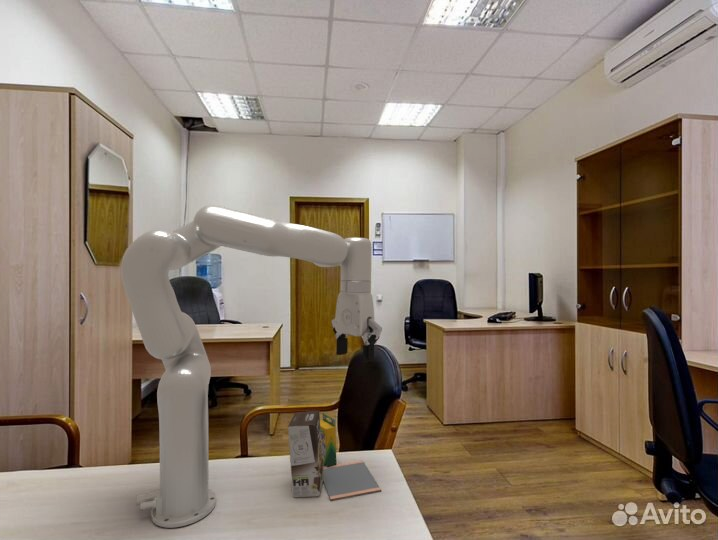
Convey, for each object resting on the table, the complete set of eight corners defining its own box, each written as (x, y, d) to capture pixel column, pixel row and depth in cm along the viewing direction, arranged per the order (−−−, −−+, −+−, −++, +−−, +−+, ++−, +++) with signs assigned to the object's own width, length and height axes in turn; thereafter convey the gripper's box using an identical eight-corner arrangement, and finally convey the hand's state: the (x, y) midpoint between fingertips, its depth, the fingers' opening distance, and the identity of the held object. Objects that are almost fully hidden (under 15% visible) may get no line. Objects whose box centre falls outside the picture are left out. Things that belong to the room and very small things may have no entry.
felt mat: (330, 501, 83) (330, 499, 83) (318, 469, 96) (318, 467, 96) (381, 491, 87) (381, 489, 87) (362, 462, 100) (362, 460, 100)
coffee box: (320, 496, 84) (315, 424, 84) (292, 498, 84) (286, 426, 84) (325, 474, 93) (320, 409, 93) (299, 476, 93) (294, 411, 93)
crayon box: (314, 457, 102) (313, 414, 103) (323, 455, 104) (323, 412, 105) (326, 467, 96) (325, 421, 97) (336, 464, 98) (336, 419, 98)
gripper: (322, 287, 96) (321, 353, 96) (369, 289, 83) (368, 366, 83) (344, 286, 101) (343, 350, 101) (392, 289, 88) (390, 361, 88)
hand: (354, 357), depth 92 cm, fingers open, 9 cm apart
